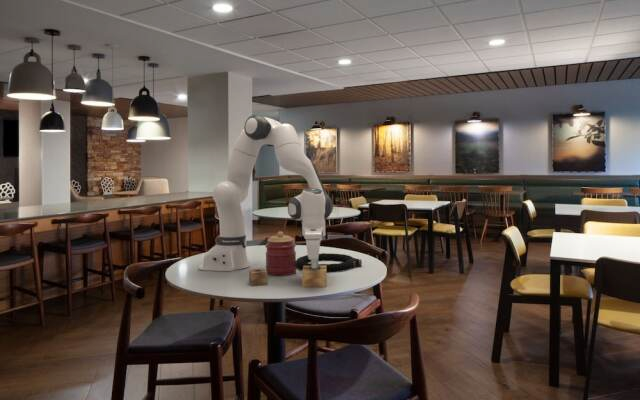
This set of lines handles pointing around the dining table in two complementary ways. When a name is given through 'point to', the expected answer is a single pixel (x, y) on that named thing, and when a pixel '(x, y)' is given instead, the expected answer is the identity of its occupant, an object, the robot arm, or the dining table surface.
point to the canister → (280, 255)
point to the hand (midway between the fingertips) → (314, 266)
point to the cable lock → (346, 259)
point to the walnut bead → (258, 277)
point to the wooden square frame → (314, 276)
